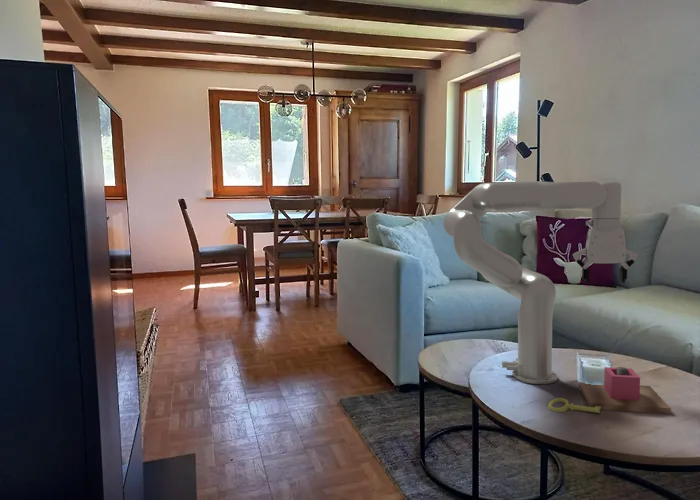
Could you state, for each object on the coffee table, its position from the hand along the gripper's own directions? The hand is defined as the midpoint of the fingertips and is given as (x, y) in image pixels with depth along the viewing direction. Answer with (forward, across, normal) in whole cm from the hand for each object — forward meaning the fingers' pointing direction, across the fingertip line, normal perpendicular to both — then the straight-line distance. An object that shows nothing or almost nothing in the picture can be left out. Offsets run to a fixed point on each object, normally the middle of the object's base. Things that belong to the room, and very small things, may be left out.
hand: (604, 281), depth 141 cm
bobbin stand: (+28, 0, -19) cm, 34 cm away
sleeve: (+27, 0, -19) cm, 33 cm away
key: (+29, -14, -27) cm, 42 cm away
